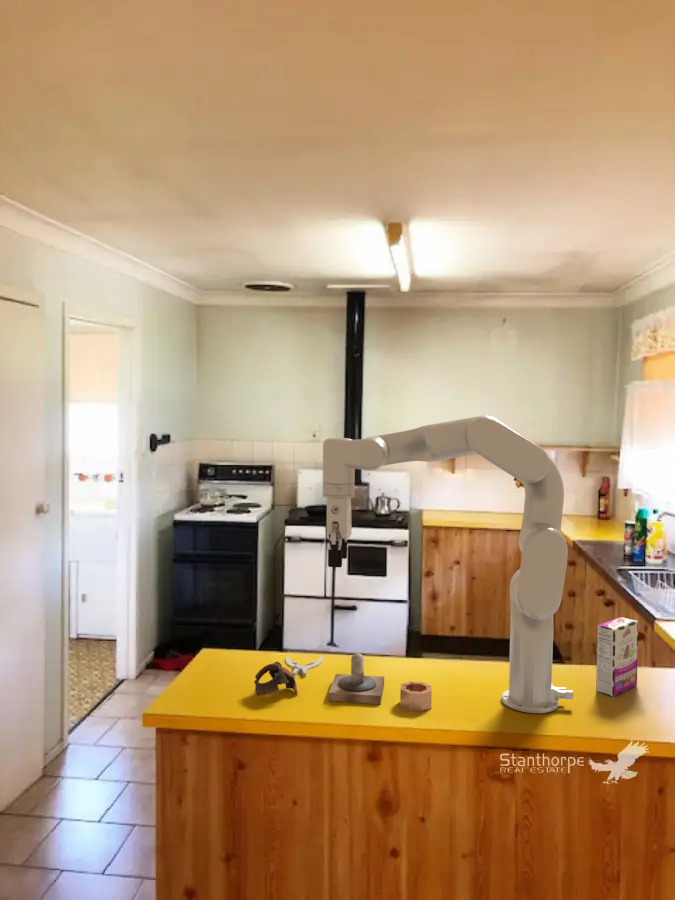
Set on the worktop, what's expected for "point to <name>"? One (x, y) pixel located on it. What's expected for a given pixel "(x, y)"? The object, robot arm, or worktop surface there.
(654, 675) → the worktop surface
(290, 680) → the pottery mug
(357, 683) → the shaft block
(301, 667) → the pliers
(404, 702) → the ring
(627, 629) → the candy bar box
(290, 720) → the worktop surface
